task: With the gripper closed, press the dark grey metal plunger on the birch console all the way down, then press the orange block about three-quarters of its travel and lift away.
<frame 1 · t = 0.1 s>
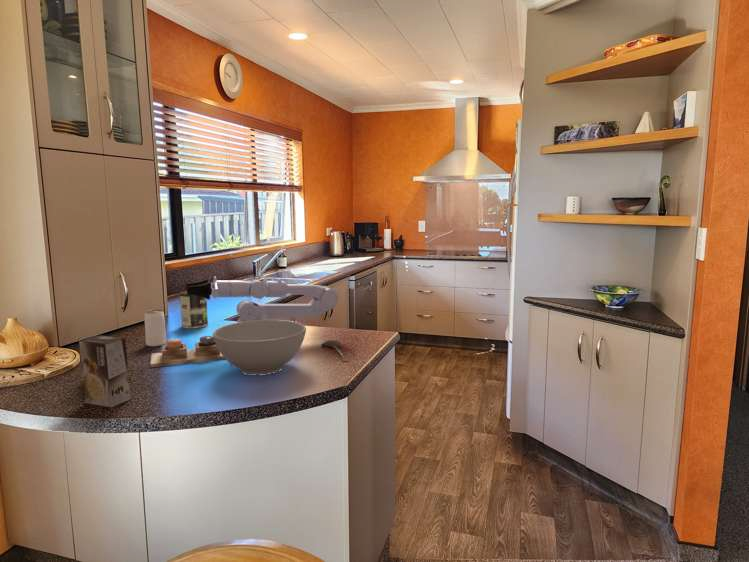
hand: (186, 288, 169), 22 cm above the table, tool horizontal, fingers open, 7 cm apart
console: (191, 357, 167), on the table
can: (156, 344, 183), on the table
orange block: (174, 345, 164), point 5 cm above the table, slide at 0.0 cm
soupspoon: (336, 354, 172), on the table
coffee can: (195, 326, 211), on the table
decorative bowl: (261, 369, 154), on the table
coffee box: (108, 402, 130), on the table
grey plunger: (207, 342, 168), point 5 cm above the table, slide at 0.0 cm
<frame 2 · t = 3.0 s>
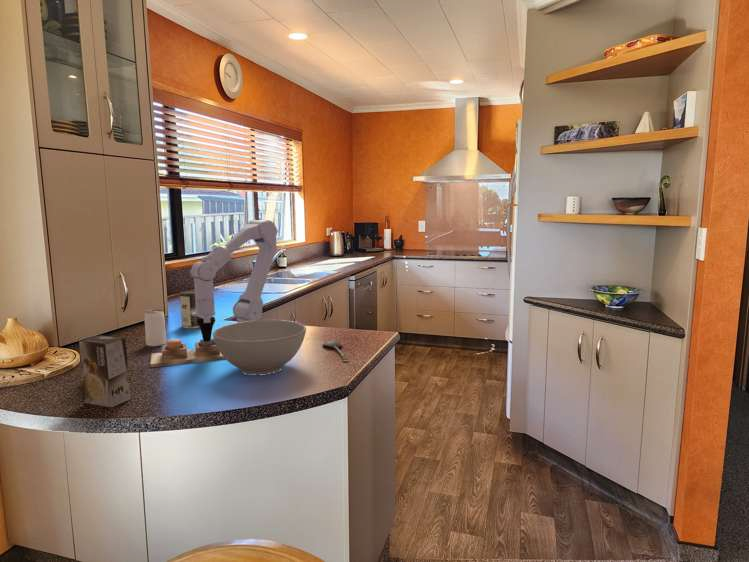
hand: (206, 340, 168), 5 cm above the table, tool pointing down, fingers closed, pressing on grey plunger
grey plunger: (207, 344, 168), point 4 cm above the table, slide at 0.8 cm, touching gripper
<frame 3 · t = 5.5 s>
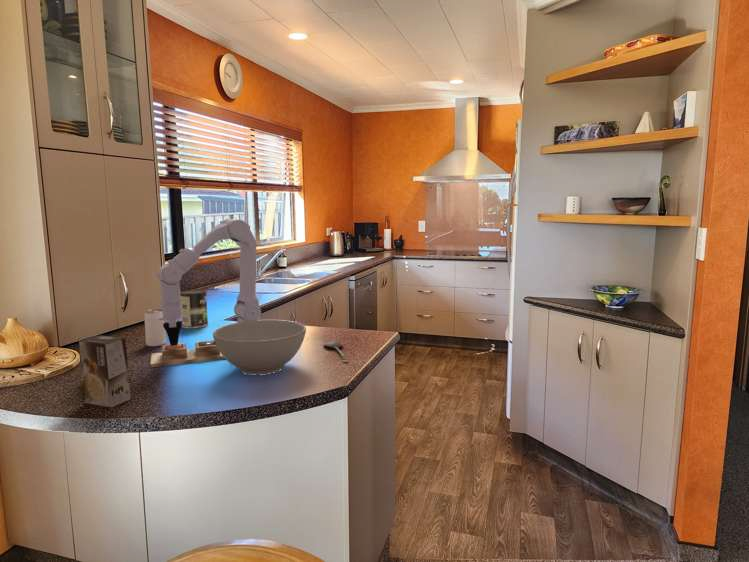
hand: (174, 344, 164), 5 cm above the table, tool pointing down, fingers closed, pressing on orange block
orange block: (174, 349, 165), point 3 cm above the table, slide at 1.3 cm, touching gripper
grey plunger: (207, 347, 168), point 3 cm above the table, slide at 1.8 cm
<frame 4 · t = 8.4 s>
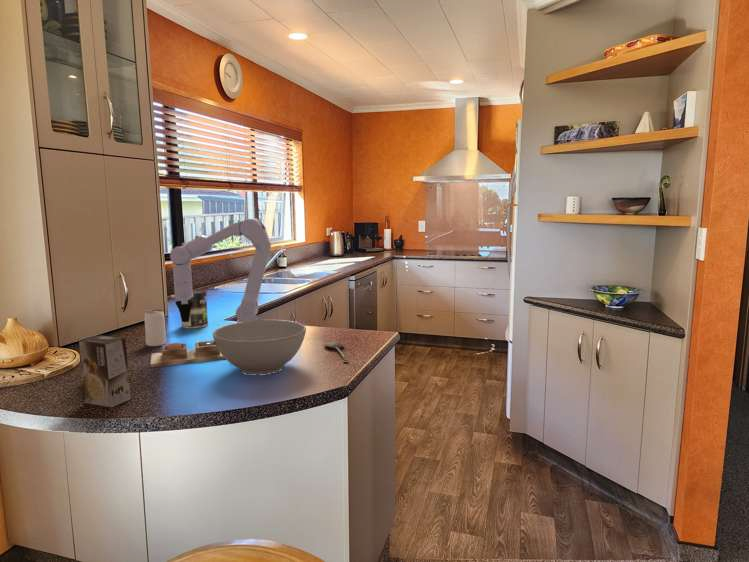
hand: (185, 321, 176), 9 cm above the table, tool pointing down, fingers closed
orange block: (174, 349, 165), point 3 cm above the table, slide at 1.3 cm
at the end: grey plunger slide at 1.8 cm; orange block slide at 1.3 cm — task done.
